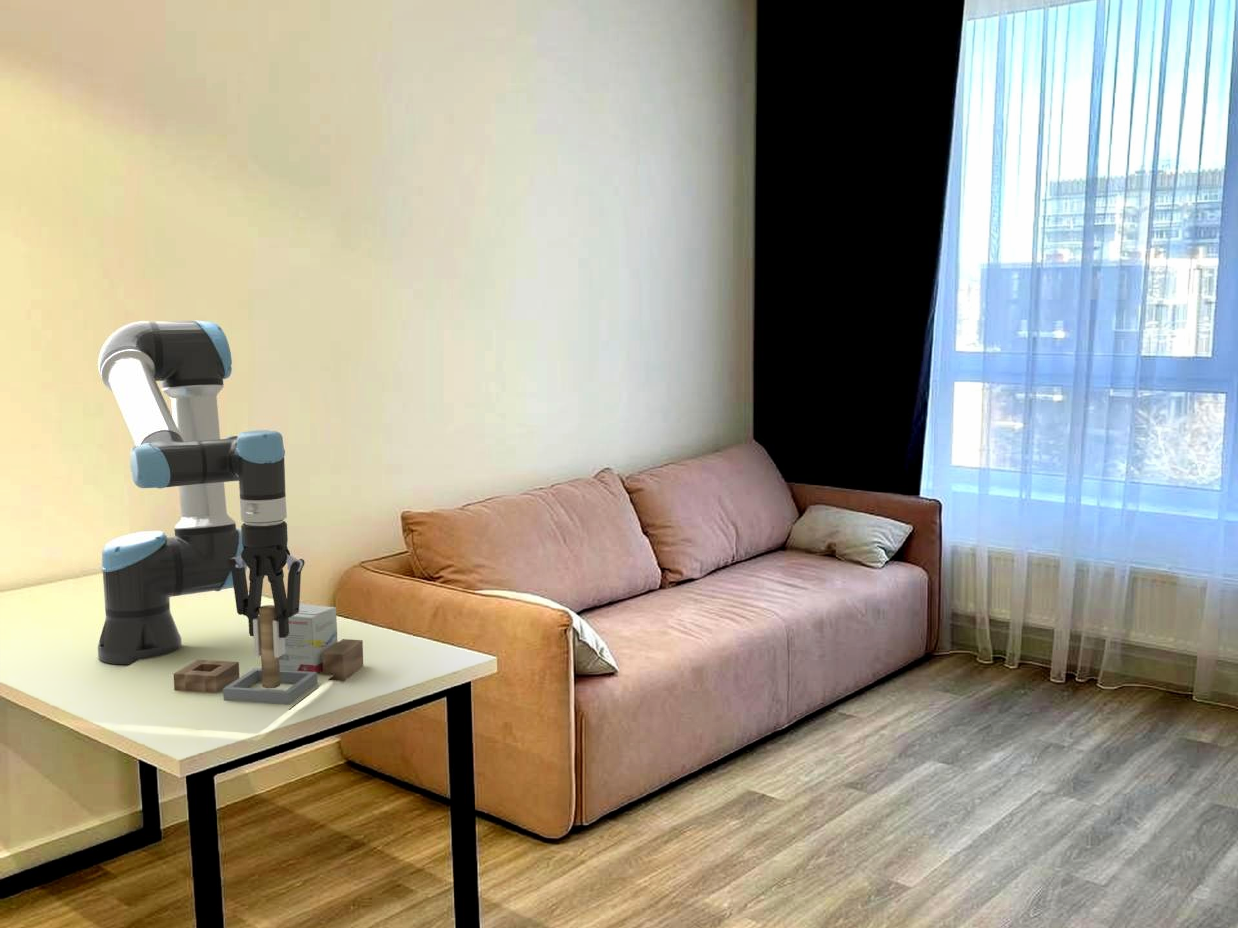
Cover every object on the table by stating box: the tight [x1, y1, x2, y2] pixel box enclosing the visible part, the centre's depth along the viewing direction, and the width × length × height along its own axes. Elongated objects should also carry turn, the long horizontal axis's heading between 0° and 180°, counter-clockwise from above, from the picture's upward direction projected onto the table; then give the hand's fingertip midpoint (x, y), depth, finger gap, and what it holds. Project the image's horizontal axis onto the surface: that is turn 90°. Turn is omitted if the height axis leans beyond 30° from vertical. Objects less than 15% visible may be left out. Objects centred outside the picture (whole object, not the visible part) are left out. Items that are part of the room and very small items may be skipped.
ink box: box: [279, 603, 339, 674], centre depth 214 cm, size 9×9×12 cm
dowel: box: [259, 604, 281, 689], centre depth 200 cm, size 3×3×14 cm
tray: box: [222, 667, 318, 711], centre depth 201 cm, size 12×11×3 cm
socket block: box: [173, 659, 241, 694], centre depth 205 cm, size 8×8×4 cm
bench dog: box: [322, 638, 364, 682], centre depth 214 cm, size 4×9×5 cm, turn 170°
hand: (270, 654), depth 200 cm, fingers closed on dowel, 3 cm apart
